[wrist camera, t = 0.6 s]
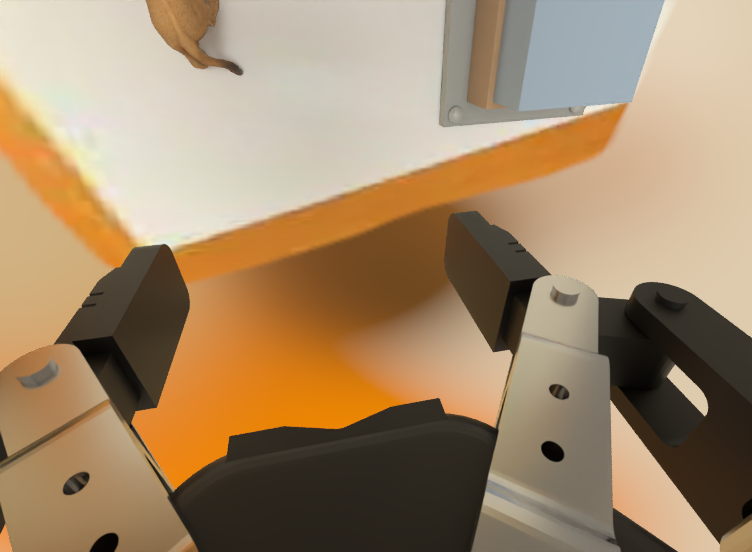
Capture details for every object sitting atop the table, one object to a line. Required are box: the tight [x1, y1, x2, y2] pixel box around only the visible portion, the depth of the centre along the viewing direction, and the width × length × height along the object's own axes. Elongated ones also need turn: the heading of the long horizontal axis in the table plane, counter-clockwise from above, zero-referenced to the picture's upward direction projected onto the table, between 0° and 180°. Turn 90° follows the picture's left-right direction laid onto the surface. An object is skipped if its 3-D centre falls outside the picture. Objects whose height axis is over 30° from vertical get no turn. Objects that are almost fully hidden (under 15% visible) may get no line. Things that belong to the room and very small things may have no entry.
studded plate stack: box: [440, 0, 664, 127], centre depth 28 cm, size 14×14×9 cm
